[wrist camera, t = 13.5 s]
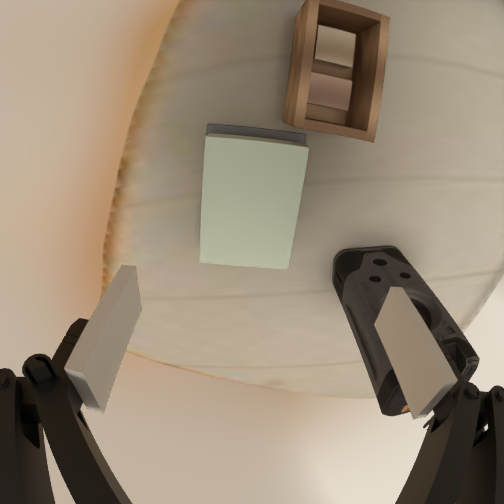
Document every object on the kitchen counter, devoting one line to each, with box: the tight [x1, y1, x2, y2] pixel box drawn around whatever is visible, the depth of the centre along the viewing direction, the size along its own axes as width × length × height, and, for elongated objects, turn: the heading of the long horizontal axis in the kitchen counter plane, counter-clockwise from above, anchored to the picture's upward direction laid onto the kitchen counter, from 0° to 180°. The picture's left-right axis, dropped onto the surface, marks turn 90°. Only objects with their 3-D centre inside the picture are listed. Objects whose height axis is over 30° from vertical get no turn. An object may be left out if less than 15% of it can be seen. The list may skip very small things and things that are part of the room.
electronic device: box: [333, 247, 479, 416], centre depth 27 cm, size 9×6×20 cm, turn 94°
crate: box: [283, 0, 390, 143], centre depth 22 cm, size 12×7×7 cm, turn 174°
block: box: [200, 133, 309, 270], centre depth 29 cm, size 12×9×4 cm
